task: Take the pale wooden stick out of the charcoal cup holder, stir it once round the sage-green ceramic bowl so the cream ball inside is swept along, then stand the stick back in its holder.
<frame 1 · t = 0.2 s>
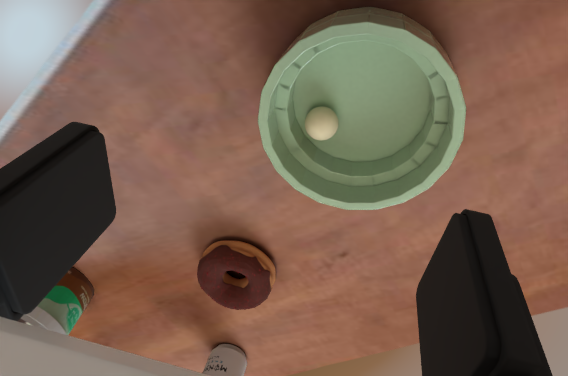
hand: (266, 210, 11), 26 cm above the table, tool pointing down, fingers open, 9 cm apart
bowl: (360, 100, 35), on the table
food container: (82, 284, 61), on the table
donut: (240, 263, 51), on the table
energy drink can: (231, 352, 63), on the table
ball: (321, 123, 35), point 2 cm above the table, touching bowl
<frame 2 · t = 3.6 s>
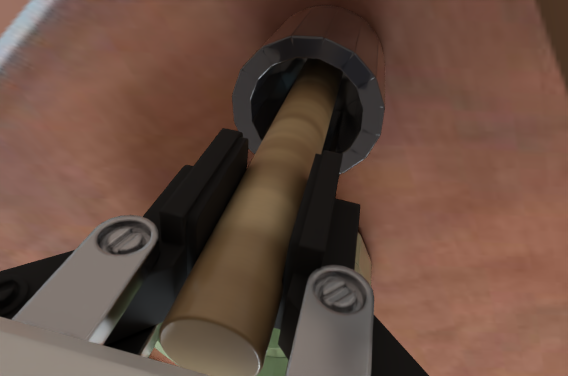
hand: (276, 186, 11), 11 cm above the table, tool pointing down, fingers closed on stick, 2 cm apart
bowl: (263, 259, 29), on the table
holder: (324, 67, 20), on the table
stick: (323, 71, 20), point 1 cm above the table, touching gripper, holder
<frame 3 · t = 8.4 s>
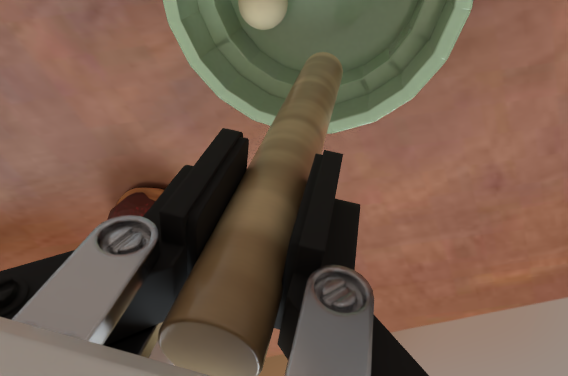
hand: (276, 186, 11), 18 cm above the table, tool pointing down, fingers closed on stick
donut: (167, 221, 40), on the table
stick: (323, 71, 20), point 8 cm above the table, touching gripper
energy drink can: (162, 334, 52), on the table
ball: (263, 3, 24), point 2 cm above the table, touching bowl
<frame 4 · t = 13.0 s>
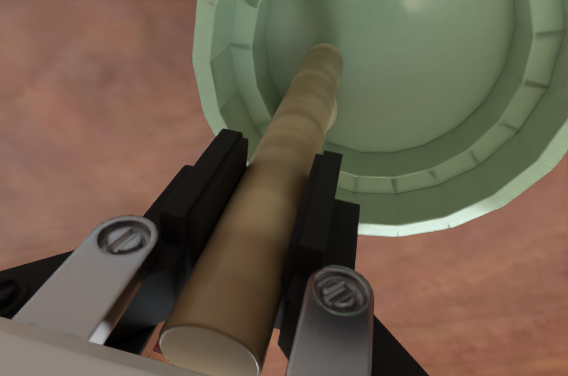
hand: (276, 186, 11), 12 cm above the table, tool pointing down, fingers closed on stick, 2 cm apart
bowl: (381, 45, 20), on the table
stick: (324, 63, 20), point 2 cm above the table, touching ball, gripper
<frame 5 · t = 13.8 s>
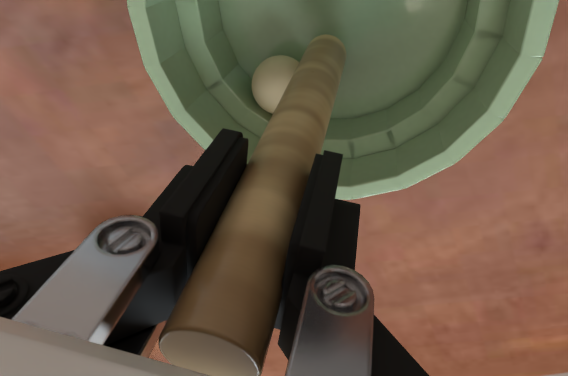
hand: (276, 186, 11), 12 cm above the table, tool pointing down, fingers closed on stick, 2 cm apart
bowl: (336, 2, 20), on the table
stick: (326, 54, 19), point 2 cm above the table, touching gripper
ball: (280, 85, 20), point 2 cm above the table, tilted 48°, touching bowl
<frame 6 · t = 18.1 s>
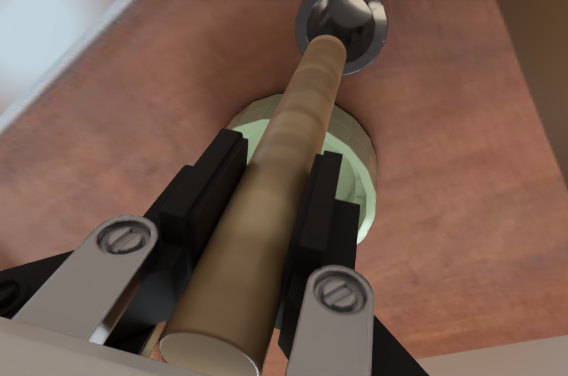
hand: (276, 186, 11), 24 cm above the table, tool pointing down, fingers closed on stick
bowl: (297, 166, 40), on the table
holder: (347, 12, 31), on the table
stick: (326, 55, 19), point 14 cm above the table, touching gripper
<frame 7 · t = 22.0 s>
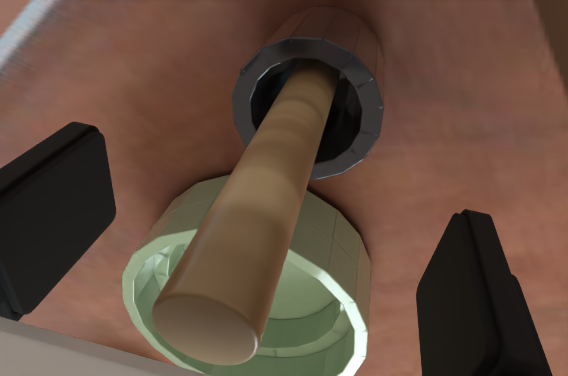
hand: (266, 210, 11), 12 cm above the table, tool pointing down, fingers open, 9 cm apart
bowl: (263, 259, 29), on the table
holder: (323, 68, 20), on the table
stick: (324, 57, 20), point 1 cm above the table, touching holder
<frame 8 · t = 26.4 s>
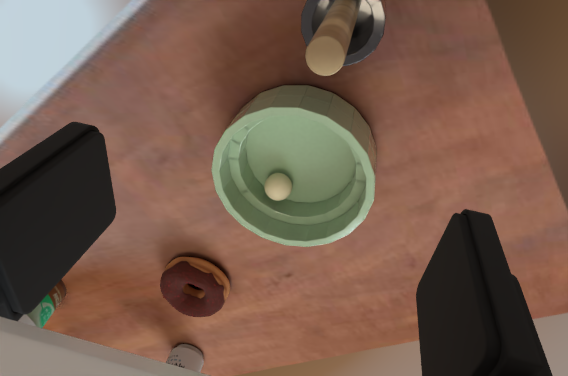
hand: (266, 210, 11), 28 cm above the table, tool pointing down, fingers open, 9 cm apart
bowl: (301, 154, 42), on the table
holder: (348, 8, 33), on the table
food container: (56, 284, 67), on the table
donut: (200, 276, 58), on the table
stick: (349, 0, 32), resting on holder
energy drink can: (190, 351, 70), on the table
ball: (278, 186, 43), point 2 cm above the table, tilted 27°, touching bowl
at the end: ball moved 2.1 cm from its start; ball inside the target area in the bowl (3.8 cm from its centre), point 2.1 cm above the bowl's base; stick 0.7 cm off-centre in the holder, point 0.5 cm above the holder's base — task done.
